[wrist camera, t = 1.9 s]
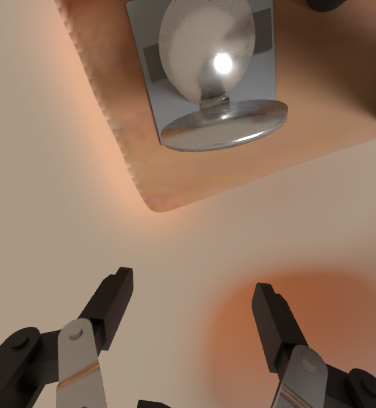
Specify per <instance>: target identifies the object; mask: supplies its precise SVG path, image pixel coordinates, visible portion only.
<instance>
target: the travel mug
mask: <svg viewBox="0 0 376 408" xmlns="http://www.w3.org/2000/svg"><path fill="white" fill-rule="evenodd" d="M306 1H307V3H308V4H309V6H310V7H311V8H312V9H314V10H316V11H319V12H327V11H330V10H333V9H335V8H337V7H338V6H340V5H341V4H342V3H344V2H345V1H346V0H306Z"/></svg>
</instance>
